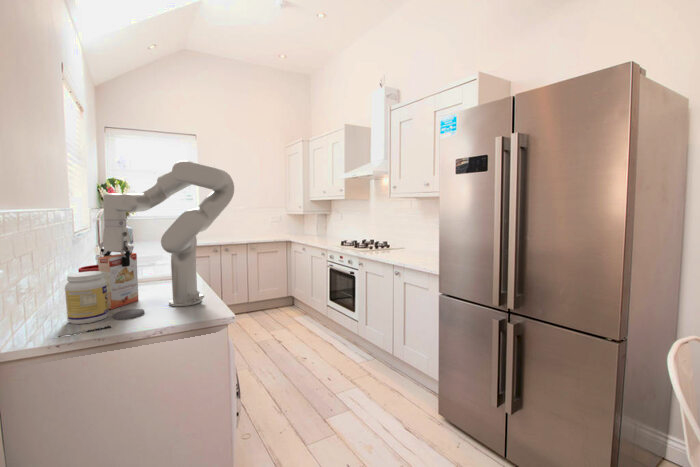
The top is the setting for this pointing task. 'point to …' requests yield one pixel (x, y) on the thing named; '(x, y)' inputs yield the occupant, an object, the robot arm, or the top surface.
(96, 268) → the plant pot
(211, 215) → the robot arm
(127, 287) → the cracker box
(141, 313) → the coaster
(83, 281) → the supplement tub
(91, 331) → the chef's knife
